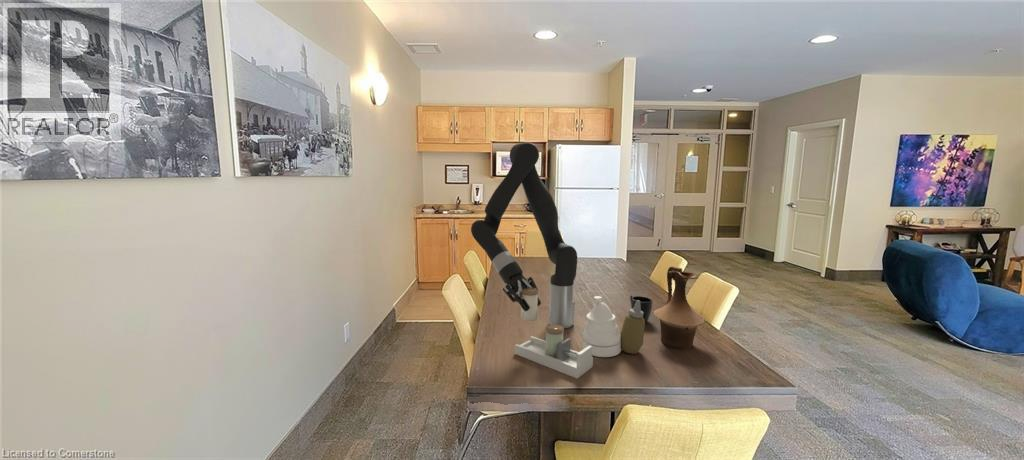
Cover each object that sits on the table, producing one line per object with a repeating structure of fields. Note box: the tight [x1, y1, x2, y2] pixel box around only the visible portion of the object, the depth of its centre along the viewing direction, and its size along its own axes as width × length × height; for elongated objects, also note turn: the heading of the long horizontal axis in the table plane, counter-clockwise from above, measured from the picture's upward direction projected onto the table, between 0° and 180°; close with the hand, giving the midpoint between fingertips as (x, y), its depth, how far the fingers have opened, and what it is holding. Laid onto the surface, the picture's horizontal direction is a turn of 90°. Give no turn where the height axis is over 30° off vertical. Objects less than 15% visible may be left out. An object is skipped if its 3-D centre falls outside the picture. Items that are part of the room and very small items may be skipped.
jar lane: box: [514, 335, 594, 379], centre depth 124 cm, size 24×10×7 cm, turn 50°
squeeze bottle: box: [619, 300, 646, 355], centre depth 131 cm, size 8×8×18 cm
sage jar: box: [545, 324, 565, 358], centre depth 124 cm, size 6×6×10 cm
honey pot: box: [582, 295, 622, 358], centre depth 132 cm, size 13×13×18 cm
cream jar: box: [520, 287, 539, 322], centre depth 129 cm, size 6×6×10 cm
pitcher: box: [653, 265, 706, 350], centre depth 138 cm, size 18×17×28 cm
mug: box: [629, 294, 653, 324], centre depth 161 cm, size 8×12×10 cm
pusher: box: [556, 337, 576, 361], centre depth 120 cm, size 5×7×6 cm
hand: (533, 307), depth 128 cm, fingers closed on cream jar, 5 cm apart
